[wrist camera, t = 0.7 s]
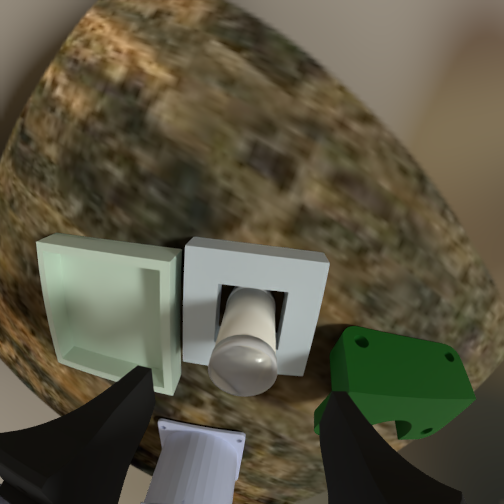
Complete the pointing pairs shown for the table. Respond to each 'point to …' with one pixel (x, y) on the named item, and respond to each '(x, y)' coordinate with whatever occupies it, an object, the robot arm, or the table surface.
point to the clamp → (399, 381)
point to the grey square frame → (252, 276)
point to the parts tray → (113, 306)
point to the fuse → (246, 344)
